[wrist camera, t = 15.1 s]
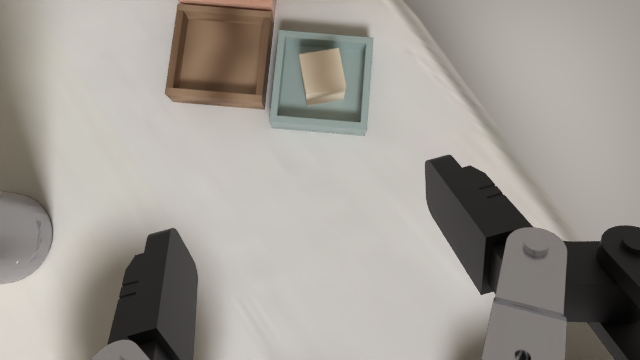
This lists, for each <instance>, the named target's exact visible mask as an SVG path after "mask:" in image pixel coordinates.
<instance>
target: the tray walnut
mask: <svg viewBox="0 0 640 360" xmlns="http://www.w3.org/2000/svg"><path fill="white" fill-rule="evenodd" d="M273 27H274V22H273V17H272V12H271V11H258V10H246V9H234V8H222V7H210V6H197V5H185V4H178V6H177V13H176V20H175V27H174V34H173V41H172V48H171V55H170V62H169V69H168V76H167V83H166V90H165V94H166V95H167V96H168V97H169V98H170V99H171V100H172V101H173V102H181V103H193V104H205V105H217V106H229V107H241V108H253V109H265V102H266V92H267V83H268V74H269V64H270V55H271V46H272V36H273Z"/></svg>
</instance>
